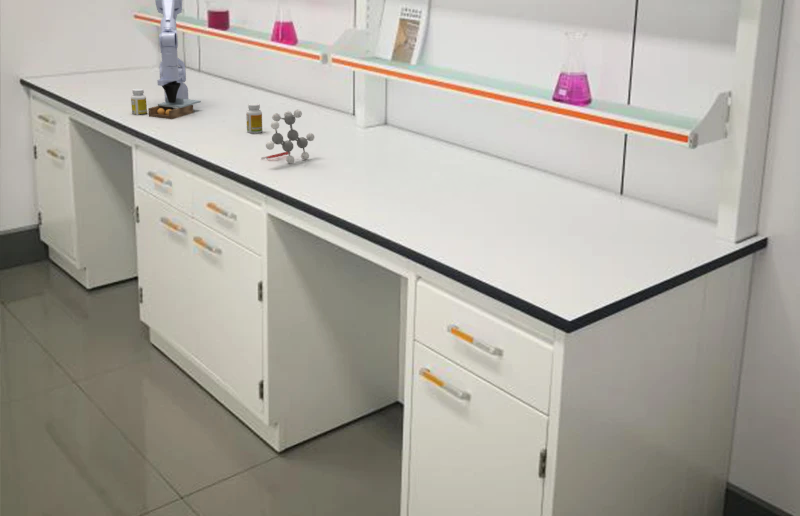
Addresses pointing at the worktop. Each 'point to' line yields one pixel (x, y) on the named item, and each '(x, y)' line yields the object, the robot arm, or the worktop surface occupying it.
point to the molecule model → (291, 135)
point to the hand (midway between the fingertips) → (172, 102)
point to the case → (170, 112)
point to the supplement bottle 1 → (138, 102)
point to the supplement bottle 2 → (254, 118)
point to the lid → (179, 103)
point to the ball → (161, 111)
